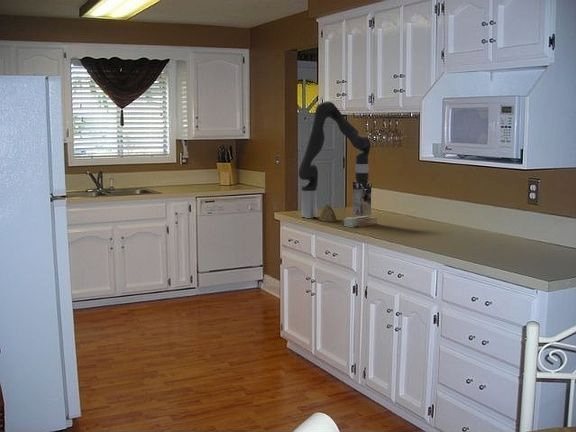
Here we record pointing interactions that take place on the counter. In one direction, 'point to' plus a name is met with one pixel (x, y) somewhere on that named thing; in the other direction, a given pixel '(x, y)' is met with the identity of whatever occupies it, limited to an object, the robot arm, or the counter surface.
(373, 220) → the oak block
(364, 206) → the coffee box
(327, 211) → the rock
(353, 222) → the sage cube
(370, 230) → the counter surface
